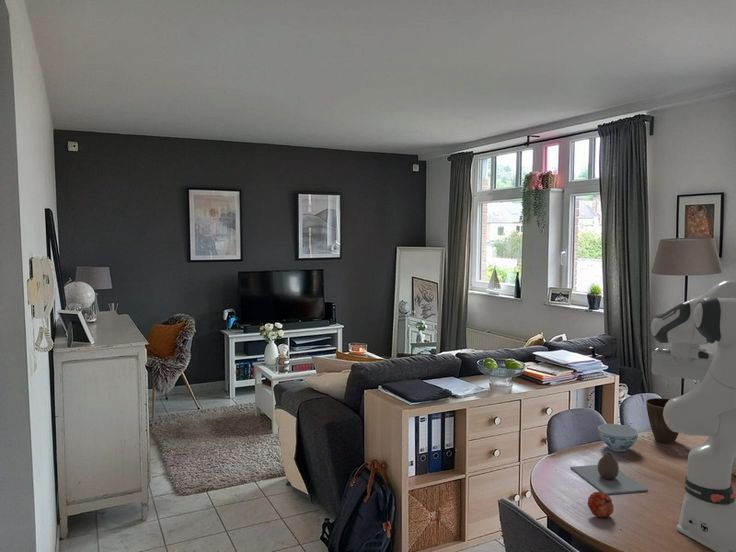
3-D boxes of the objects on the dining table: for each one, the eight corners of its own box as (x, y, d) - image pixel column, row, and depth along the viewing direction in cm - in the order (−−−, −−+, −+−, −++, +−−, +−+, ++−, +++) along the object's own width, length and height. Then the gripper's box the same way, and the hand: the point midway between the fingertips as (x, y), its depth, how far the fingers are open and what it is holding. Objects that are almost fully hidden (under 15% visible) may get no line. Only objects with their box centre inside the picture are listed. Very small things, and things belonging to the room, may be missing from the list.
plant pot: (654, 446, 238) (655, 408, 237) (638, 434, 253) (640, 397, 251) (691, 447, 237) (693, 408, 236) (673, 434, 252) (675, 398, 251)
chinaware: (632, 443, 242) (632, 425, 241) (642, 456, 227) (643, 437, 226) (594, 440, 244) (594, 422, 244) (601, 454, 230) (602, 435, 229)
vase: (614, 483, 201) (615, 459, 201) (594, 478, 206) (595, 453, 205) (621, 477, 207) (622, 453, 206) (601, 472, 211) (602, 448, 210)
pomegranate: (583, 519, 182) (598, 513, 174) (579, 495, 186) (593, 487, 178) (605, 521, 183) (621, 514, 174) (601, 497, 187) (616, 489, 178)
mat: (647, 491, 197) (648, 489, 197) (604, 494, 194) (604, 493, 194) (609, 465, 219) (609, 463, 219) (570, 468, 216) (570, 466, 216)
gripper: (650, 348, 206) (648, 387, 206) (717, 355, 194) (715, 397, 194) (653, 347, 211) (651, 385, 211) (719, 354, 199) (717, 394, 199)
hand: (682, 391), depth 202 cm, fingers open, 8 cm apart
